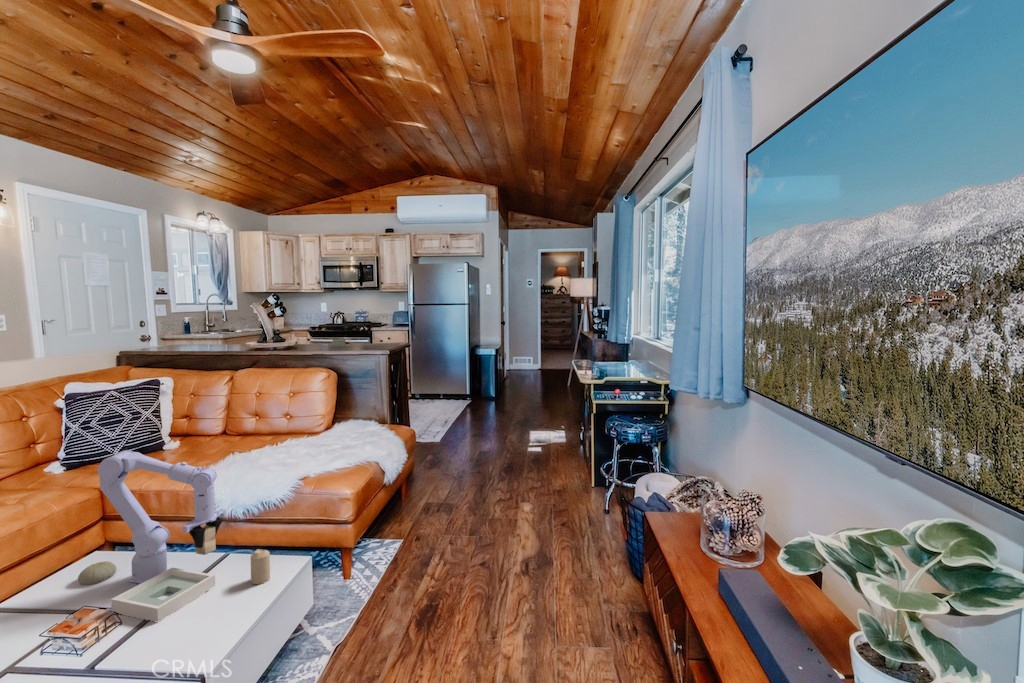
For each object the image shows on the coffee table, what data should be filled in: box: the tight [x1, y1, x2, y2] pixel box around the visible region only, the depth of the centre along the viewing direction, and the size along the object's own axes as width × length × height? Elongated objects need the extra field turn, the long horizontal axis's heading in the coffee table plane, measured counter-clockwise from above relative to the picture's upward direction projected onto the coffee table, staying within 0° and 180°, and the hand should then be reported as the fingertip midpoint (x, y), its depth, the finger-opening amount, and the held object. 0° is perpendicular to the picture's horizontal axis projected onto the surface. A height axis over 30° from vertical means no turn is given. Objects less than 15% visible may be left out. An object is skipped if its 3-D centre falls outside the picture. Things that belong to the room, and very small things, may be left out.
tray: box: [110, 566, 216, 623], centre depth 136 cm, size 18×18×4 cm
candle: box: [250, 548, 271, 585], centre depth 147 cm, size 6×6×10 cm
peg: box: [195, 524, 217, 556], centre depth 152 cm, size 4×4×8 cm
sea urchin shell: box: [77, 561, 117, 585], centre depth 148 cm, size 9×8×8 cm
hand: (205, 544), depth 152 cm, fingers closed on peg, 4 cm apart
